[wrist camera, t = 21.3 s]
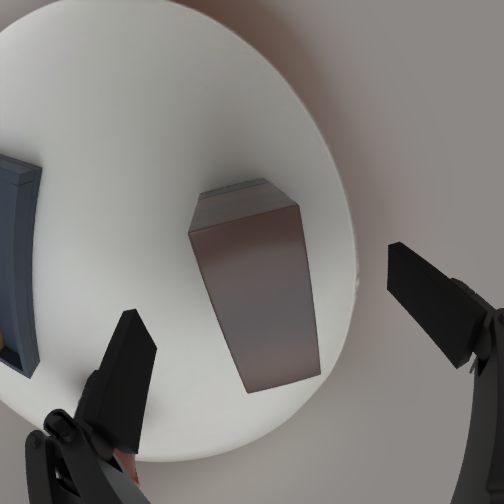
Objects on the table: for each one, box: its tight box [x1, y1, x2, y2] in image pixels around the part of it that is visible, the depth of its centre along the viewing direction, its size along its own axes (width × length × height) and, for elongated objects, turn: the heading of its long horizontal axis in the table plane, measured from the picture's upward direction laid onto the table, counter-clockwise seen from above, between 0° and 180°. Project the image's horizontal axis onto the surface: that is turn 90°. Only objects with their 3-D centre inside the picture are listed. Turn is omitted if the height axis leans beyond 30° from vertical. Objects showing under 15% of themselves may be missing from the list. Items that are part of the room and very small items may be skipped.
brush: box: [188, 178, 321, 393], centre depth 16 cm, size 10×4×8 cm, turn 13°
